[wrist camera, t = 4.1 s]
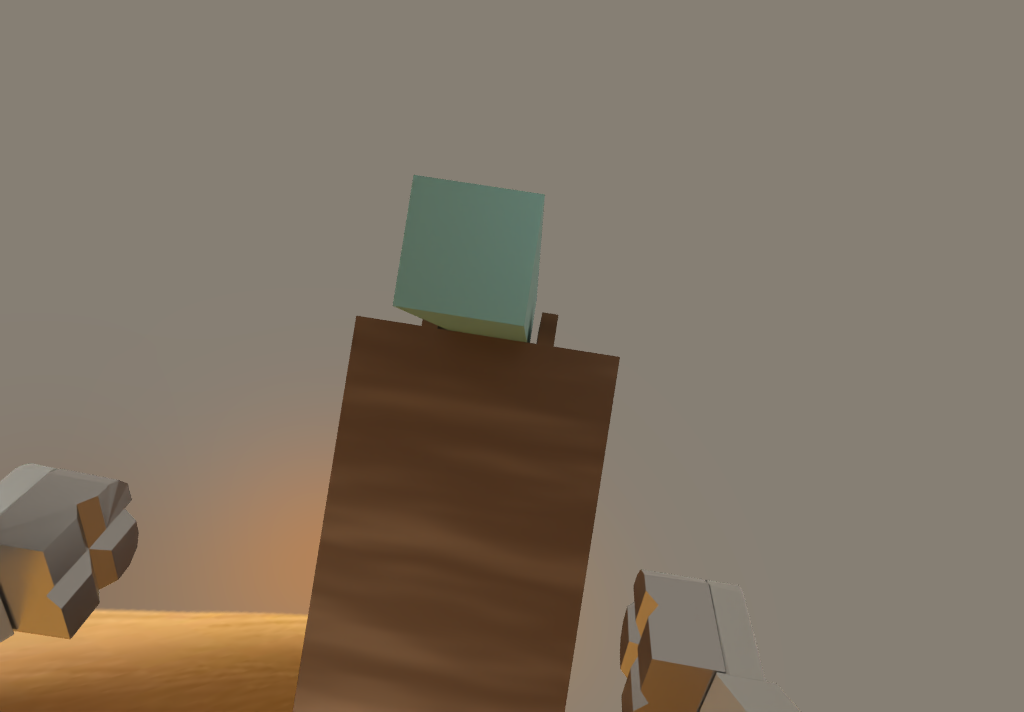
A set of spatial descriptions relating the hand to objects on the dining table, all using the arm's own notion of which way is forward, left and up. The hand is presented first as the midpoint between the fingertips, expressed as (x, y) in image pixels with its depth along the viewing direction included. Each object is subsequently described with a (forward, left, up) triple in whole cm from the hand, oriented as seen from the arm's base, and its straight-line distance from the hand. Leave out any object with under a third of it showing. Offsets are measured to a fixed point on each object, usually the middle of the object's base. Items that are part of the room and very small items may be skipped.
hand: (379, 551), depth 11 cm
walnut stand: (-15, +15, -22) cm, 31 cm away
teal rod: (-12, +12, +4) cm, 17 cm away
